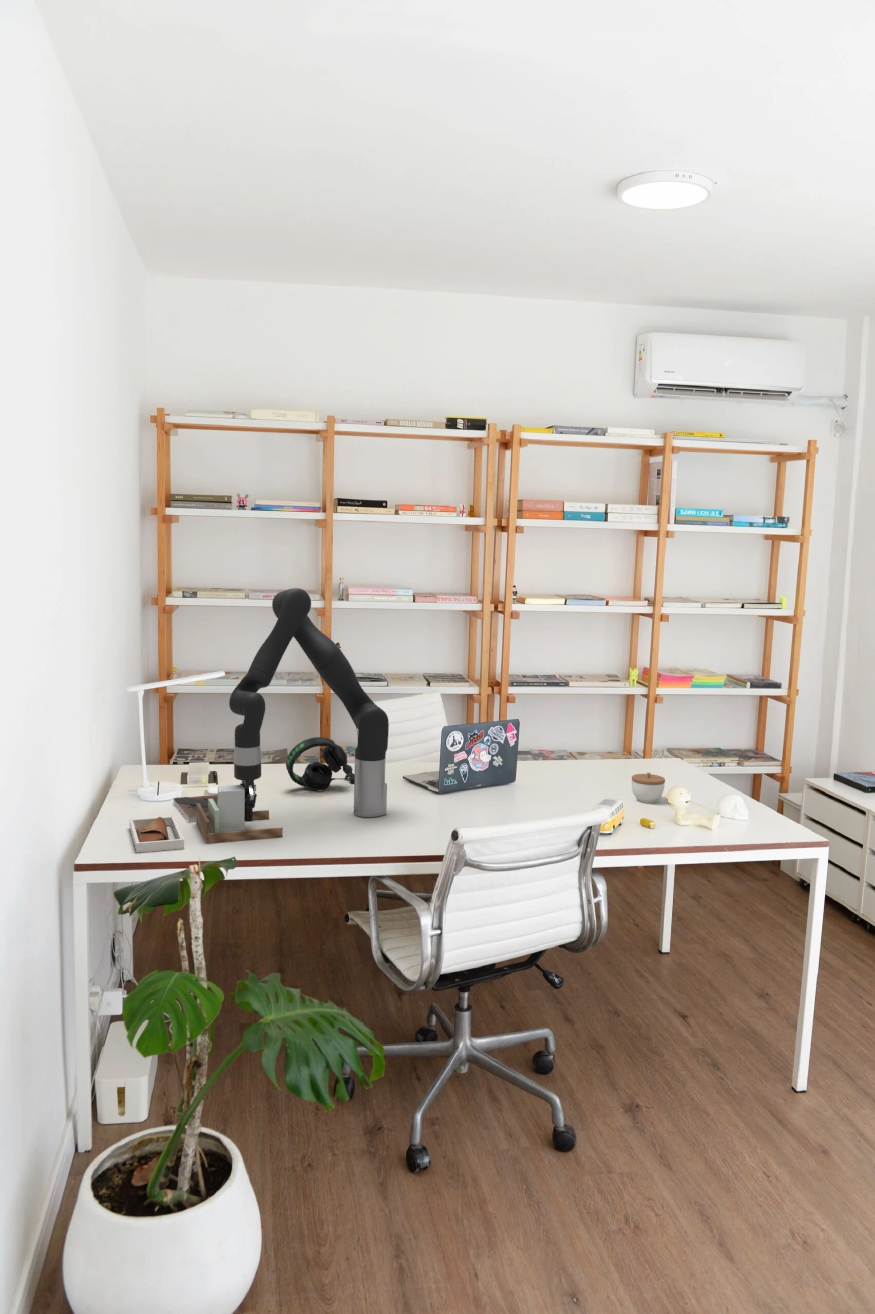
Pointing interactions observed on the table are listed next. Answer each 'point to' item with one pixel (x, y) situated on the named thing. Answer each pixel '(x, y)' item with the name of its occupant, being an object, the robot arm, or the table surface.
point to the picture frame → (193, 805)
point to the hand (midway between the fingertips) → (248, 820)
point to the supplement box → (231, 808)
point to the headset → (319, 764)
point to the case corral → (156, 845)
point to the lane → (235, 835)
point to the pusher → (213, 816)
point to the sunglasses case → (153, 831)
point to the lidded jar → (647, 787)
